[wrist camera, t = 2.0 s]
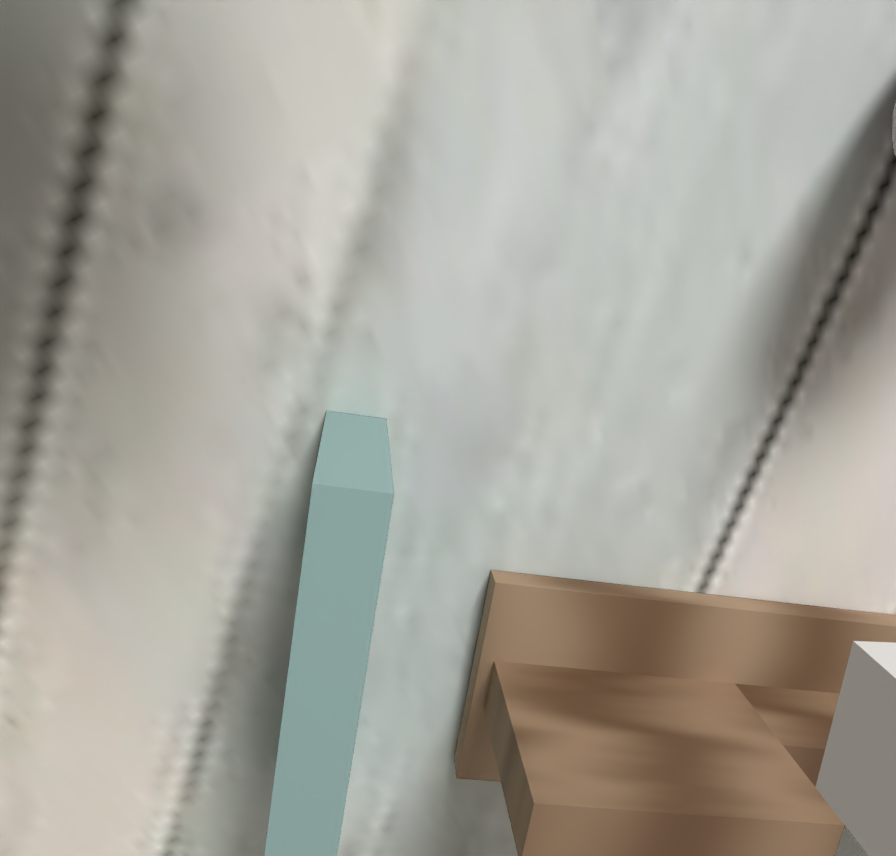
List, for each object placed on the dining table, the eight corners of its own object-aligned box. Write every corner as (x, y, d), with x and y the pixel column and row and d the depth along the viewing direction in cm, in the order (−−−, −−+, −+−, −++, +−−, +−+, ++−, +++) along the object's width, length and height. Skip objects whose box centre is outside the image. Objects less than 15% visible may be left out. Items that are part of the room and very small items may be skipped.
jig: (454, 760, 30) (483, 949, 22) (491, 570, 28) (537, 705, 20) (987, 801, 33) (1173, 979, 25) (1053, 632, 31) (1278, 770, 23)
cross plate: (333, 773, 30) (323, 944, 23) (279, 769, 29) (252, 941, 22) (386, 419, 26) (394, 493, 19) (326, 410, 26) (312, 483, 19)
